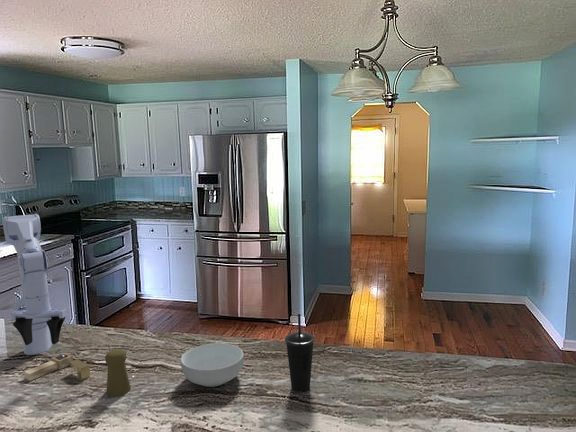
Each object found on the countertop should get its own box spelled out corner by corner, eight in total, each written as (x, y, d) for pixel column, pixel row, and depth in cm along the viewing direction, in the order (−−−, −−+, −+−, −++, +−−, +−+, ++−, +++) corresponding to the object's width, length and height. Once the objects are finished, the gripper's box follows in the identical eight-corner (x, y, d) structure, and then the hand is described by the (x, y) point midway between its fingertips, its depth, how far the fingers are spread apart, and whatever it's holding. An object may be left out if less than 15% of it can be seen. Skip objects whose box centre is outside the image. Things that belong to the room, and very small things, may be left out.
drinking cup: (318, 382, 118) (317, 310, 115) (310, 397, 111) (309, 321, 108) (291, 378, 120) (289, 307, 118) (282, 392, 113) (280, 318, 110)
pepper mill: (122, 397, 113) (119, 357, 111) (101, 395, 114) (97, 355, 112) (135, 385, 119) (132, 346, 117) (115, 383, 120) (111, 345, 118)
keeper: (90, 380, 122) (89, 365, 121) (82, 383, 120) (80, 368, 119) (78, 373, 126) (77, 358, 125) (70, 376, 124) (68, 362, 123)
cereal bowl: (255, 371, 125) (254, 347, 124) (223, 401, 110) (221, 375, 109) (205, 360, 132) (204, 338, 131) (169, 388, 117) (167, 362, 116)
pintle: (61, 366, 130) (60, 354, 130) (67, 366, 130) (66, 354, 130) (58, 369, 128) (56, 356, 128) (64, 369, 128) (62, 356, 128)
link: (65, 360, 132) (64, 352, 132) (73, 363, 130) (72, 355, 129) (23, 377, 122) (22, 369, 122) (31, 381, 120) (30, 373, 119)
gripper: (1, 300, 117) (7, 349, 119) (53, 298, 116) (59, 348, 118) (18, 293, 124) (24, 339, 126) (68, 291, 123) (73, 338, 125)
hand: (42, 343), depth 122 cm, fingers open, 7 cm apart
